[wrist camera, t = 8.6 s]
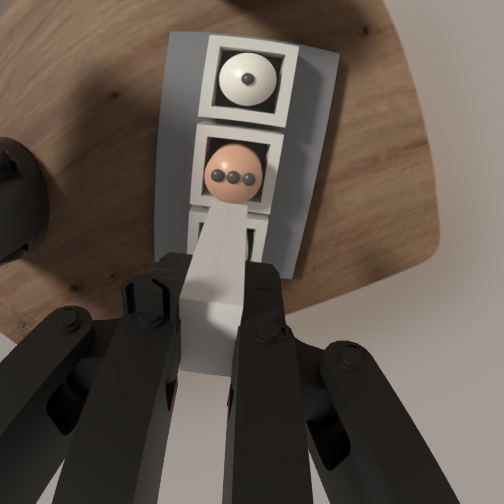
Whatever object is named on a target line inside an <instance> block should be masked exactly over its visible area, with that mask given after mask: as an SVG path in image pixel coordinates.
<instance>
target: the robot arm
mask: <svg viewBox="0 0 504 504" xmlns="http://www.w3.org/2000/svg"><path fill="white" fill-rule="evenodd" d="M247 207H248V206H246V205H238V204H231V203H223V202H215V201H212V203H211V206H210V208H209V211H208V214H207V217H206V220H205V223H204V225H203V228H202V231H201V234H200V237H199V240H198V243H197V246H196V249H195V252H194V255H191V254H183V253H176V252H169V253H167V254H166V255H164V256H163V257H162V258H160V260H159V262H158V264H157V266H156V269H155V270H154V272H153V274H152V275H140V276H135V277H133V278H131V279H129V280H127V281H125V282H124V283H123V285H122V286H121V295H122V303H123V310H124V315H123V317H121V318H118V319H111V320H92V317H91V315H90V313H89V312H88V311H87V310H85V309H84V308H82V307H78V306H64V307H61V308H58V309H56V310H55V311H53V312H52V313H50V314H49V315H48V316H47V317H46V318H45V319H44V320H43V321H42V322H41V323H39V324H38V325H37V326H36V327H35V328H34V329H33V330H32V331H31V332H30V333H29V334H28V335H27V336H26V337H25V338H24V339H23V340H22V341H21V342H20V343H19V344H18V345H17V346H16V347H15V348H14V349H13V350H12V351H11V352H10V353H9V354H8V355H7V356H6V357H5V358H4V359H3V360H2V361H1V362H0V504H36V502H37V501H38V499H39V498H40V496H41V495H42V493H43V491H44V490H45V488H46V487H47V485H48V484H49V482H50V480H51V479H52V477H53V476H54V474H55V473H56V471H57V470H58V468H59V466H60V465H61V463H62V462H63V460H64V459H65V461H64V464H63V467H62V470H61V473H60V477H59V480H58V483H57V487H56V490H55V494H54V497H53V501H52V504H157V500H158V493H159V487H160V481H161V474H162V468H163V462H164V456H165V450H166V444H167V439H168V434H169V428H170V423H171V417H172V412H173V407H174V402H175V396H176V392H177V386H178V380H177V374H178V369H179V365H180V370H184V371H190V372H197V373H205V374H212V375H221V376H229V377H231V384H230V390H229V396H228V402H227V406H228V416H227V431H226V448H225V463H224V480H223V498H222V504H313V493H312V483H311V473H310V463H309V454H308V449H309V452H310V454H311V457H312V459H313V462H314V464H315V467H316V469H317V472H318V474H319V477H320V479H321V482H322V484H323V487H324V489H325V492H326V494H327V497H328V499H329V502H330V504H460V502H459V501H458V499H457V497H456V495H455V493H454V491H453V490H452V488H451V486H450V484H449V482H448V481H447V479H446V477H445V476H444V473H443V472H442V470H441V468H440V467H439V465H438V463H437V461H436V459H435V458H434V456H433V454H432V452H431V451H430V449H429V447H428V446H427V444H426V442H425V441H424V439H423V437H422V435H421V434H420V432H419V431H418V429H417V427H416V425H415V424H414V422H413V420H412V419H411V417H410V415H409V414H408V412H407V411H406V409H405V407H404V406H403V404H402V402H401V401H400V400H399V398H398V397H397V394H396V393H395V391H394V390H393V388H392V386H391V385H390V383H389V382H388V380H387V379H386V377H385V375H384V374H383V372H382V371H381V369H380V368H379V366H378V365H377V363H376V361H375V360H374V358H373V357H372V355H371V354H370V353H369V352H368V351H367V350H366V349H365V348H364V347H362V346H361V345H359V344H357V343H354V342H350V341H336V342H333V343H331V344H330V345H329V346H328V347H327V348H326V349H325V350H323V349H320V348H317V347H314V346H310V345H308V344H305V343H303V342H301V341H300V340H298V339H297V338H295V337H294V335H293V333H292V330H291V328H290V327H289V326H287V325H286V322H285V313H284V305H283V298H282V293H281V291H282V290H281V285H280V283H281V282H280V275H279V272H278V271H277V269H276V268H275V267H274V266H273V264H268V263H260V262H253V261H245V252H246V229H247ZM48 214H49V208H48V197H47V191H46V187H45V183H44V180H43V177H42V175H41V172H40V170H39V168H38V166H37V164H36V162H35V160H34V159H33V157H32V156H31V155H30V153H29V152H28V151H27V150H26V149H25V148H24V147H23V146H22V145H21V144H19V143H18V142H16V141H15V140H12V139H10V138H5V137H0V266H2V265H5V264H8V263H10V262H13V261H16V260H18V259H21V258H23V257H24V256H26V255H27V254H28V253H30V252H31V251H32V250H33V249H34V248H35V247H36V246H37V245H38V244H39V243H40V241H41V240H42V238H43V236H44V234H45V231H46V228H47V223H48Z"/></svg>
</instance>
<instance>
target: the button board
mask: <svg viewBox="0 0 504 504" xmlns="http://www.w3.org/2000/svg"><path fill="white" fill-rule="evenodd" d="M242 53H254V54H258V55H260V56H262V57H264V58H266V59H267V60H268V61H269V62H270V63H271V64H272V66H273V67H274V69H275V72H276V78H277V81H276V86H275V89H274V91H273V93H272V94H271V95H270V97H269V98H267V99H266V100H265V101H263V102H261V103H259V104H256V105H251V106H244V105H239V104H236V103H234V102H232V101H231V100H229V99H228V98H227V97H226V96H225V95H224V93H223V92H222V90H221V87H220V83H219V75H220V72H221V69H222V67H223V65H224V64H225V63H226V62H227V61H228V60H229V59H230V58H232V57H233V56H236V55H238V54H242ZM339 56H340V54H339V53H335V52H331V51H327V50H323V49H319V48H315V47H310V46H305V45H301V44H296V43H290V42H285V41H279V40H273V39H267V38H260V37H252V36H244V35H234V34H223V33H208V32H170V37H169V43H168V50H167V57H166V64H165V71H164V79H163V87H162V96H161V105H160V116H159V127H158V140H157V155H156V175H155V208H154V255H155V262H157V263H158V262H159V260H160V258H162V257H163V256H164V255H166V254H167V253H169V252H176V253H183V254H191V255H194V252H195V249H196V246H197V243H198V240H199V237H200V234H201V231H202V228H203V225H204V223H205V220H206V217H207V214H208V211H209V208H210V206H211V203H212V201H215V202H222V201H220V200H218V199H216V198H215V197H214V196H213V195H212V194H211V193H210V192H209V190H208V188H207V186H206V183H205V169H206V166H207V164H208V162H209V161H210V159H211V157H212V156H213V154H214V153H215V151H216V150H217V149H218V148H220V147H221V146H223V145H225V144H228V143H232V142H238V143H243V144H246V145H248V146H250V147H251V148H252V149H253V150H254V151H255V152H256V153H257V155H258V157H259V159H260V163H261V169H262V183H261V186H260V188H259V190H258V192H257V193H256V194H255V195H254V196H253V197H252V198H251V199H249V200H248V201H245V202H243V203H238V205H246V206H248V207H247V231H248V237H249V239H248V258H247V261H253V262H260V263H268V264H273V266H274V267H275V268H276V269H277V271H278V272H279V275H280V278H285V279H292V277H293V273H294V269H295V265H296V261H297V257H298V253H299V249H300V245H301V241H302V237H303V232H304V228H305V224H306V220H307V216H308V211H309V207H310V203H311V198H312V194H313V189H314V185H315V180H316V176H317V171H318V167H319V162H320V157H321V152H322V148H323V143H324V138H325V133H326V128H327V123H328V118H329V112H330V107H331V102H332V96H333V91H334V85H335V80H336V74H337V68H338V62H339ZM223 203H225V202H223Z"/></svg>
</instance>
